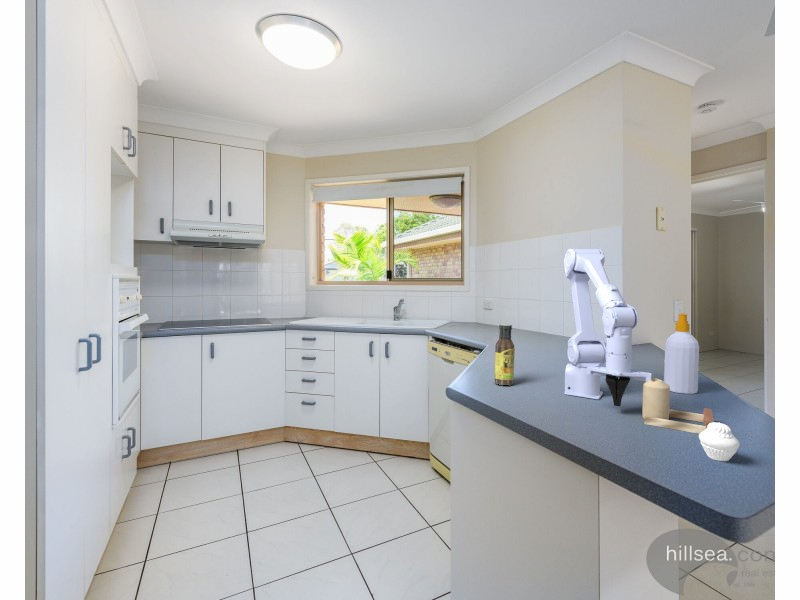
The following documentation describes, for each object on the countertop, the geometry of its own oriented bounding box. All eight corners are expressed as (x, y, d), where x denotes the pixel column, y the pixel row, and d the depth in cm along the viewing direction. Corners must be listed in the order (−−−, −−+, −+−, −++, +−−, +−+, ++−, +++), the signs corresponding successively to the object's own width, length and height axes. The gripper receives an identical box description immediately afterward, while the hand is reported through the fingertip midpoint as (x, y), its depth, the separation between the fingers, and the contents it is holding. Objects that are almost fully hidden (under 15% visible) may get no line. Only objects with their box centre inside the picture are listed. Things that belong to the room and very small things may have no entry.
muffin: (727, 467, 72) (728, 430, 72) (691, 454, 78) (692, 419, 77) (746, 461, 75) (747, 425, 74) (709, 448, 80) (711, 415, 80)
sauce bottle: (505, 387, 126) (505, 326, 125) (490, 383, 131) (490, 324, 130) (518, 384, 130) (518, 324, 129) (503, 380, 135) (503, 323, 134)
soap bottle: (696, 388, 124) (698, 313, 123) (699, 395, 116) (701, 315, 115) (663, 384, 129) (665, 312, 128) (664, 391, 121) (666, 314, 120)
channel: (644, 423, 94) (644, 410, 94) (647, 411, 103) (647, 399, 102) (713, 436, 86) (714, 422, 86) (710, 422, 95) (711, 409, 95)
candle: (673, 424, 94) (674, 382, 93) (647, 422, 95) (648, 381, 95) (662, 416, 99) (663, 377, 99) (638, 414, 100) (639, 376, 100)
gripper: (584, 352, 102) (583, 404, 103) (650, 358, 94) (649, 414, 94) (590, 348, 108) (589, 397, 109) (652, 354, 99) (651, 407, 100)
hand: (617, 405), depth 102 cm, fingers closed
